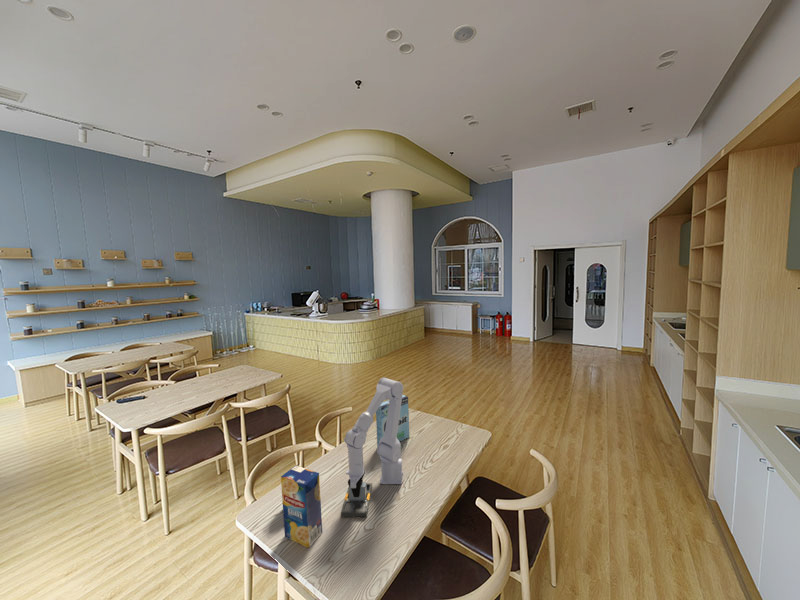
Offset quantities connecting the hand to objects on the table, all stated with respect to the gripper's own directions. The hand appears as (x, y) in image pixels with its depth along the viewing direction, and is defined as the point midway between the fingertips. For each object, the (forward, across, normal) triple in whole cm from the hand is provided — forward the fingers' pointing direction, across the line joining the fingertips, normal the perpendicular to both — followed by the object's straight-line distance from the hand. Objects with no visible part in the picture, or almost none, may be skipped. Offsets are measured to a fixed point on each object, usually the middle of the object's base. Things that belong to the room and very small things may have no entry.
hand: (357, 493), depth 125 cm
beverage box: (+4, +16, -16) cm, 23 cm away
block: (+2, 0, 0) cm, 2 cm away
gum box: (+4, -44, +12) cm, 46 cm away
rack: (+3, 0, 0) cm, 3 cm away
